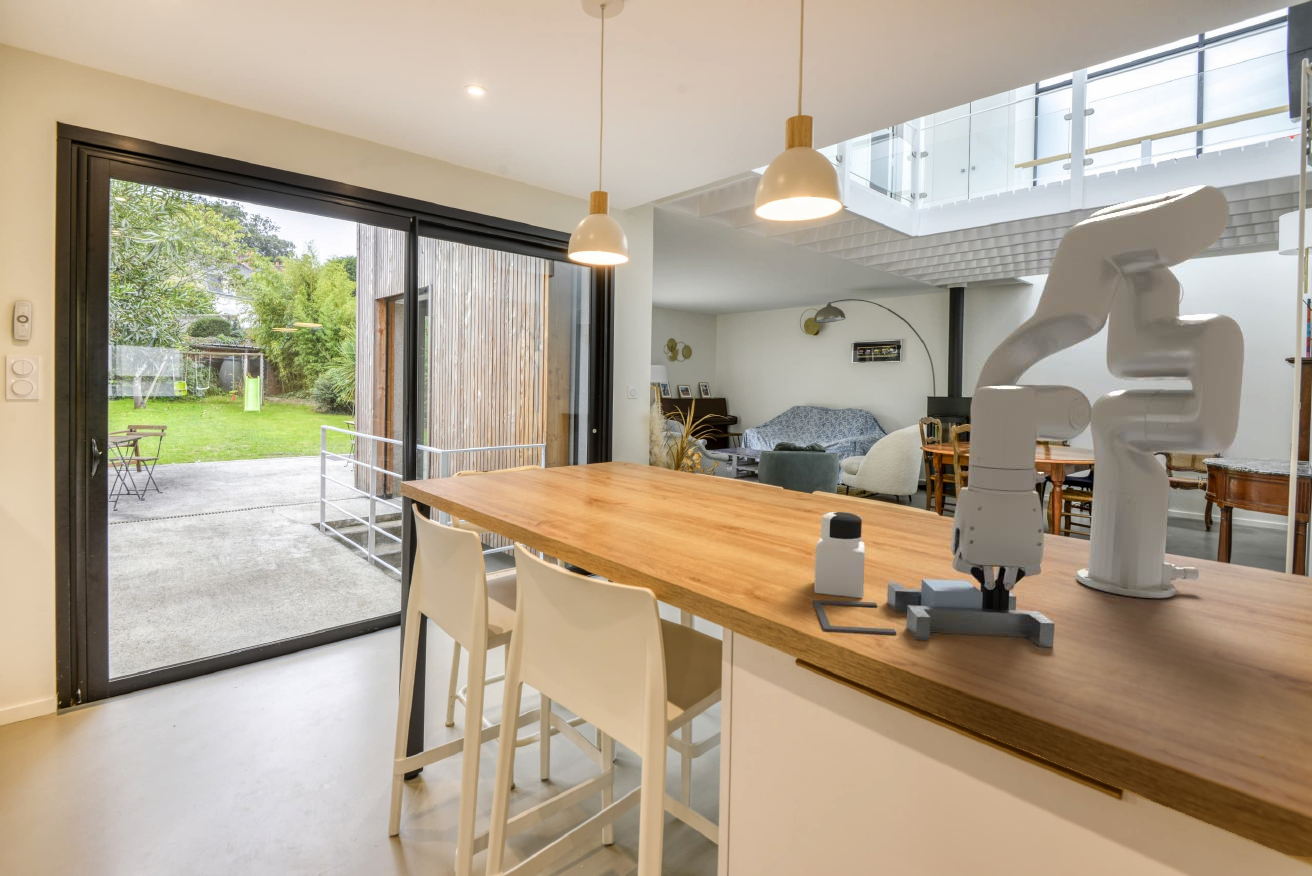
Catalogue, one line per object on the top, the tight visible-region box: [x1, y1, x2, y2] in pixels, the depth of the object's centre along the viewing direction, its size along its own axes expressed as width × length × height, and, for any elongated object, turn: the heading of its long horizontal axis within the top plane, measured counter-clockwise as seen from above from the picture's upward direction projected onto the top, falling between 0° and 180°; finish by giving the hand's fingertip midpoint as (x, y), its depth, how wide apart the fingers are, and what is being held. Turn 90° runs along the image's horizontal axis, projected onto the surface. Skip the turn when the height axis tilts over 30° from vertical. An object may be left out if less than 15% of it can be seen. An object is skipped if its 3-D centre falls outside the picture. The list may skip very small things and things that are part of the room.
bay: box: [812, 599, 897, 635], centre depth 82 cm, size 9×11×1 cm
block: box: [921, 578, 983, 609], centre depth 81 cm, size 6×5×5 cm
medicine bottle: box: [814, 511, 866, 599], centre depth 94 cm, size 7×7×12 cm
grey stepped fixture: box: [886, 581, 1055, 648], centre depth 81 cm, size 16×14×3 cm
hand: (993, 615), depth 80 cm, fingers closed
